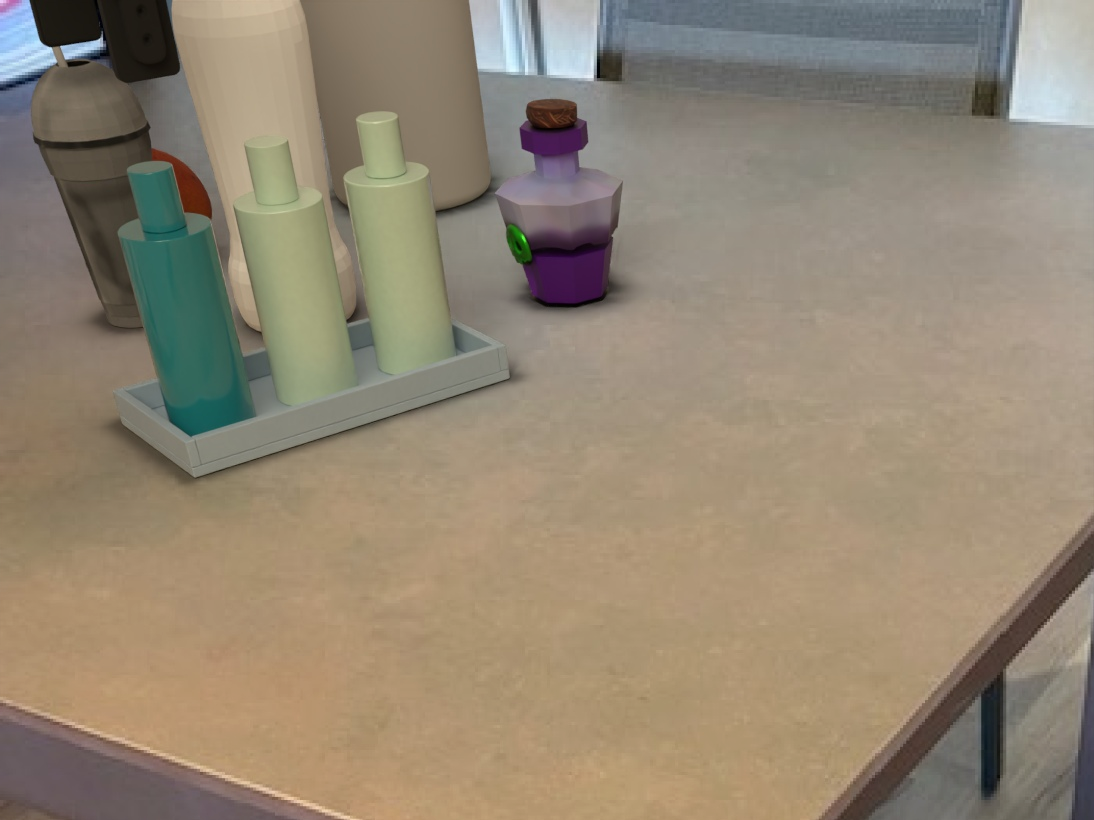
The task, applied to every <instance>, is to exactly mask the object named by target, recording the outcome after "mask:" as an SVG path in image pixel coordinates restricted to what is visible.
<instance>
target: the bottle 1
mask: <svg viewBox="0 0 1094 820" xmlns="http://www.w3.org/2000/svg"><path fill="white" fill-rule="evenodd" d="M170 11H171V24H172V30H173V34H174V39H175V44H176V49H177V52H178V56H179V59H180V61H181V65H182V68H183V71H184V76H185V78H186V79H185V80H186V82H187V86H188V89H189V93H190V96H191V99H192V104H193V107H194V111H195V113H196V117H197V120H198V124H199V128H200V132H201V134H202V135H201V136H202V138H203V142H204V145H205V148H206V152H207V154H208V155H207V156H208V159H209V163H210V165H211V166H210V167H211V169H212V173H213V176H214V180H215V183H216V186H217V190H218V194H219V198H220V200H221V201H220V202H221V204H222V208H223V212H224V215H225V220H226V224H227V228H228V233H229V258H228V263H227V265H228V266H227V267H228V269H227V270H228V278H229V282H230V287H231V290H232V294H233V298H234V302H235V304H236V307H237V309H238V311H239V313H240V316H241V318H242V319H243V320H244V322H245V323H246V324H247V326H249V327H250V328H251V329H253V330H255V331H257V332H260V333H262V332H261V327H260V323H259V319H258V314H257V310H256V305H255V301H254V296H253V292H252V287H251V283H250V279H249V274H248V270H247V265H246V261H245V256H244V252H243V247H242V243H241V239H240V234H239V230H238V225H237V221H236V216H235V212H234V207H233V203H234V201H235V200H236V199H237V198H238V197H240V196H242V195H244V194H246V193H249V192H252V191H254V189H253V184H252V180H251V175H250V170H249V166H248V161H247V156H246V152H245V147H244V142H245V141H246V140H248V139H251V138H254V137H259V136H267V135H278V136H283V137H286V138H287V139H288V143H289V148H290V153H291V158H292V163H293V168H294V173H295V178H296V183H297V186H301V187H308V188H313V189H316V190H318V191H320V192H321V194H322V195H323V200H324V205H325V211H326V216H327V221H328V227H329V232H330V237H331V242H332V248H333V253H334V258H335V263H336V269H337V274H338V279H339V284H340V290H341V295H342V300H343V305H344V311H345V316H346V321H347V320H349V319H350V318H351V317H352V315H353V314H354V312H355V309H356V306H357V281H356V275H355V270H354V265H353V259H352V257H351V254H350V252H349V249H348V247H347V245H346V244H345V242H344V241H343V239H342V237H341V235H340V233H339V230H338V228H337V225H336V222H335V217H334V212H333V206H332V201H331V196H330V188H329V180H328V173H327V164H326V157H325V149H324V144H323V143H324V142H323V134H322V125H321V118H320V113H319V108H318V102H317V96H316V88H315V81H314V73H313V66H312V58H311V50H310V43H309V35H308V29H307V24H306V18H305V14H304V11H303V8H302V5H301V2H300V0H172V1H171V10H170Z"/></svg>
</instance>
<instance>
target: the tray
mask: <svg viewBox="0 0 1094 820" xmlns="http://www.w3.org/2000/svg"><path fill="white" fill-rule="evenodd" d="M451 321H452V328H453V334H454V341H455V348H456V355H457V356H455V357H452V358H448V359H445V360H442V361H438V362H435V363H432V364H429V365H425V366H422V367H419V368H415V369H412V370H409V371H406V372H402V373H399V374H396V375H391V374H388V373H385V372H383V371H381V370H380V369H379V368H378V366H377V362H376V356H375V351H374V345H373V340H372V334H371V329H370V323H369V318H368V317H366V318H363V319H359V320H356V321H352V322H347V326H348V332H349V337H350V342H351V348H352V353H353V358H354V363H355V369H356V374H357V379H358V384H359V386H356V387H353V388H350V389H346V390H343V391H340V392H336V393H333V394H330V395H326V396H323V397H320V398H317V399H313V400H310V401H307V402H303V403H300V404H297V405H293V406H289V405H286V404H283V403H281V402H280V401H279V400H278V399H277V397H276V394H275V390H274V385H273V381H272V376H271V372H270V367H269V363H268V359H267V354H266V350H265V346H263V347H260V348H257V349H254V350H250V351H246V352H242V355H243V359H244V363H245V367H246V372H247V376H248V380H249V384H250V389H251V393H252V397H253V401H254V406H255V410H256V414H257V417H254V418H251V419H247V420H244V421H241V422H237V423H234V424H231V425H228V426H224V427H221V428H218V429H214V430H211V431H208V432H205V433H201V434H198V435H195V436H192V437H190V436H189V435H187V434H186V433H184V432H183V431H182V430H180V429H179V428H177V427H176V426H175V425H173V424H172V423H170V422H169V420H168V417H167V413H166V409H165V406H164V402H163V398H162V395H161V391H160V387H159V384H158V380H157V377H154V378H151V379H147V380H143V381H140V382H137V383H133V384H130V385H126V386H123V387H119V388H116V389H112V393H113V397H114V401H115V404H116V407H117V411H118V414H119V418H120V421H121V424H122V425H123V426H124V427H125V428H126V429H128V430H130V431H131V432H132V433H134V434H135V435H136V436H138V437H139V438H140V439H142V440H143V441H144V442H146V443H147V444H149V445H150V446H151V447H152V448H154V449H155V450H157V451H158V452H159V453H160V454H162V455H163V456H165V457H166V458H167V459H168V460H170V461H171V462H172V463H174V464H175V465H176V466H177V467H179V468H181V469H182V470H184V471H185V472H186V473H187V474H189V475H190V476H192V477H193V478H194V479H195V478H196V479H197V478H199V477H203V476H205V475H209V474H212V473H214V472H218V471H221V470H225V469H228V468H231V467H234V466H237V465H241V464H243V463H247V462H249V461H252V460H255V459H259V458H262V457H265V456H268V455H271V454H275V453H278V452H281V451H285V450H288V449H291V448H295V447H298V446H300V445H303V444H307V443H310V442H314V441H316V440H319V439H322V438H325V437H328V436H332V435H335V434H339V433H341V432H345V431H348V430H351V429H354V428H357V427H360V426H363V425H367V424H369V423H373V422H376V421H380V420H382V419H386V418H389V417H392V416H395V415H398V414H402V413H404V412H409V411H412V410H414V409H417V408H420V407H424V406H427V405H430V404H433V403H436V402H440V401H443V400H445V399H449V398H452V397H455V396H458V395H461V394H465V393H468V392H471V391H474V390H477V389H480V388H483V387H487V386H490V385H493V384H497V383H500V382H502V381H507V380H508V379H510V378H511V376H510V369H509V360H508V352H507V347H506V346H507V345H506V344H505V343H503V342H501V341H498V340H497V339H495V338H493V337H491V336H489V335H487V334H484V333H482V332H480V331H479V330H476V329H475V328H473V327H471V326H469V325H466V324H464V322H461V321H458V320H457V319H455V318H453V317H451Z"/></svg>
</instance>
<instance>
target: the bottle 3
mask: <svg viewBox="0 0 1094 820" xmlns="http://www.w3.org/2000/svg"><path fill="white" fill-rule="evenodd" d="M356 122H357V128H358V134H359V140H360V146H361V151H362V157H363V163H364V165H363V166H359V167H356V168H354V169H352V170H350V171H348V172H347V173H345V175H344V177H343V179H344V185H345V190H346V196H347V202H348V206H347V207H348V212H349V218H350V223H351V228H352V234H353V241H354V245H355V250H356V256H357V261H358V268H359V272H360V278H361V284H362V289H363V295H364V301H365V306H366V311H367V316H368V317H367V318H369V323H370V329H371V334H372V340H373V345H374V351H375V356H376V362H377V366H378V368H379V369H380V370H381V371H383V372H385V373H388V374H391V375H396V374H399V373H402V372H406V371H409V370H412V369H415V368H419V367H422V366H425V365H429V364H432V363H435V362H438V361H442V360H445V359H448V358H452V357H455V356H457V355H456V348H455V341H454V334H453V328H452V321H451V318H452V315H451V307H450V301H449V295H448V287H447V281H446V275H445V267H444V261H443V254H442V248H441V240H440V234H439V228H438V227H439V226H438V220H437V213H436V211H435V206H434V199H433V192H432V186H431V179H430V172H429V169H428V168H427V167H426V166H424V165H422V164H419V163H414V162H407V161H405V157H404V150H403V144H402V137H401V131H400V125H399V118H398V115H397V114H396V113H393V112H387V111H377V112H369V113H365V114H362V115H360V116H358V117H357V118H356Z"/></svg>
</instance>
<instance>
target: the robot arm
mask: <svg viewBox="0 0 1094 820" xmlns="http://www.w3.org/2000/svg"><path fill="white" fill-rule="evenodd" d="M96 1H97V2H96ZM96 1H95V0H28V2H29V5H30V8H31V13H32V16H33V20H34V24H35V28H36V32H37V36H38V39H39V42H40V43H41V44H42V45H43V46H45V47H47V48H52V47H59V46H60V47H65V46H70V45H71V46H72V45H77V44H82V43H83V44H84V43H90V42H96V41H99V40H100V39H101V38H102V33H103V32H102V27H103V31H104V35H105V38H106V39H105V40H106V44H107V48H108V52H109V56H110V61H111V63H112V64H111V66H112V70H113V71H114V73H115V76H116V77H117V79H119V80H120V81H122V82H125V83H127V84H131V83H136V82H142V81H148V80H155V79H159V78H166V77H171V76H176V75H178V74H179V72H180V71H181V63H180V57H179V52H178V48H177V44H176V40H175V35H174V31H173V24H172V19H171V16H170V11H169V6H168V2H167V0H96ZM95 2H96V3H97V5H98V9H99V14H100V18H101V22H100V18H99V15H98V11H97V10H98V9H97V6H96V3H95ZM100 23H102V27H101V24H100Z"/></svg>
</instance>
